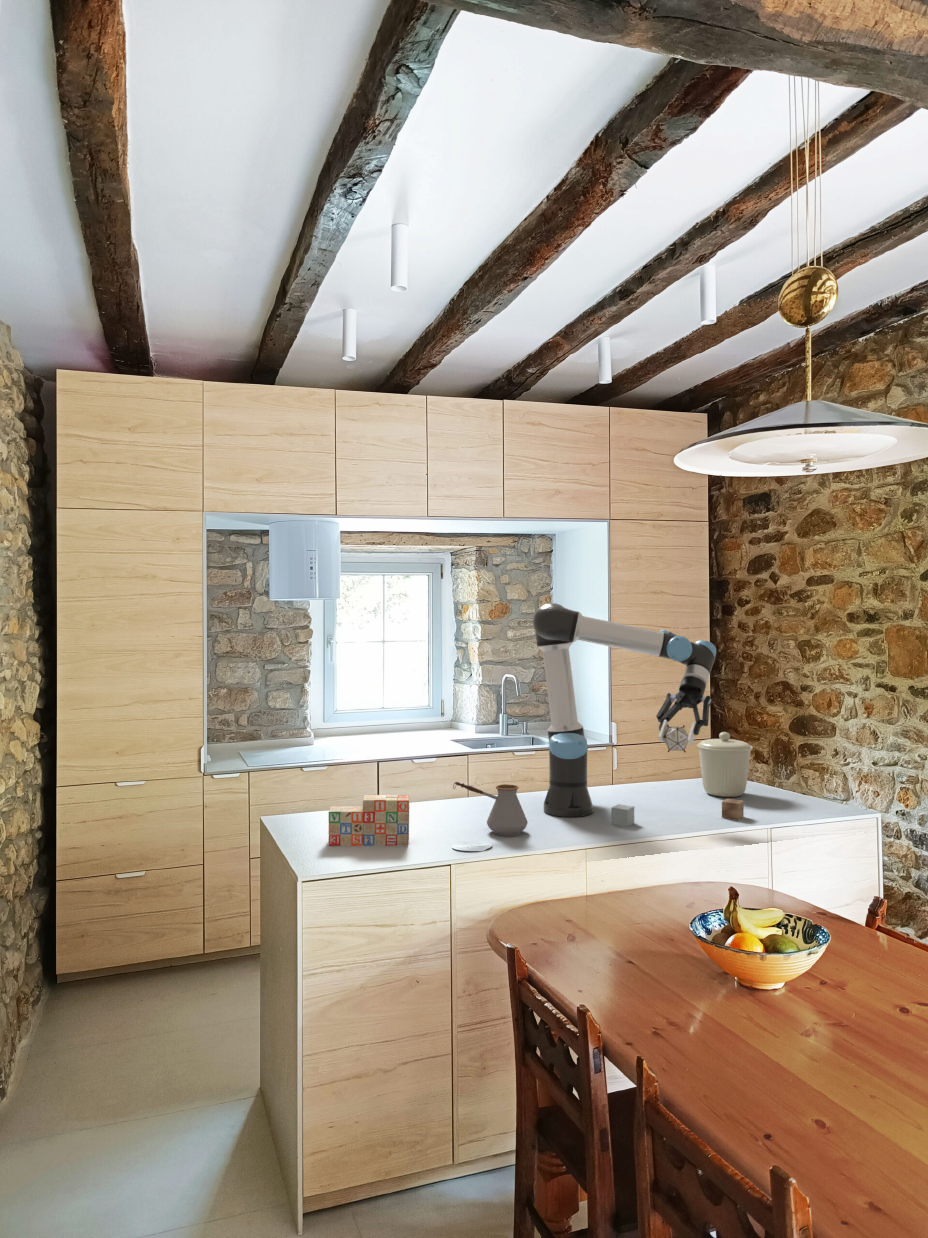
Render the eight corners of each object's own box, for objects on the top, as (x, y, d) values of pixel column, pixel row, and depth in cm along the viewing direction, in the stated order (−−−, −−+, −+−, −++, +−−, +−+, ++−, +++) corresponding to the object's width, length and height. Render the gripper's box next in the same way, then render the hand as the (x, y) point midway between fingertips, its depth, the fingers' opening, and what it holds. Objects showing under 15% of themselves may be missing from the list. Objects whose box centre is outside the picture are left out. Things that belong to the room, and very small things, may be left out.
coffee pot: (520, 826, 243) (520, 774, 243) (533, 836, 232) (533, 782, 232) (448, 830, 238) (448, 777, 238) (458, 841, 227) (458, 786, 227)
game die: (679, 763, 254) (695, 735, 257) (683, 758, 246) (700, 729, 249) (653, 747, 257) (669, 720, 259) (656, 741, 249) (673, 713, 251)
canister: (763, 798, 278) (763, 735, 278) (714, 801, 274) (714, 737, 274) (733, 787, 296) (734, 727, 296) (686, 790, 292) (687, 729, 291)
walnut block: (721, 818, 253) (721, 801, 253) (726, 814, 257) (726, 798, 257) (738, 820, 250) (738, 803, 250) (743, 817, 254) (743, 800, 254)
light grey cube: (611, 824, 245) (611, 807, 245) (618, 821, 249) (618, 804, 249) (627, 827, 242) (627, 810, 242) (634, 823, 246) (634, 806, 246)
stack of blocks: (327, 846, 222) (327, 800, 222) (330, 840, 229) (330, 795, 229) (409, 846, 223) (409, 799, 223) (409, 839, 230) (409, 794, 229)
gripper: (730, 692, 259) (712, 752, 246) (665, 688, 271) (645, 745, 258) (725, 676, 254) (707, 736, 241) (658, 673, 266) (638, 730, 253)
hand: (675, 740), depth 250 cm, fingers closed on game die, 8 cm apart
